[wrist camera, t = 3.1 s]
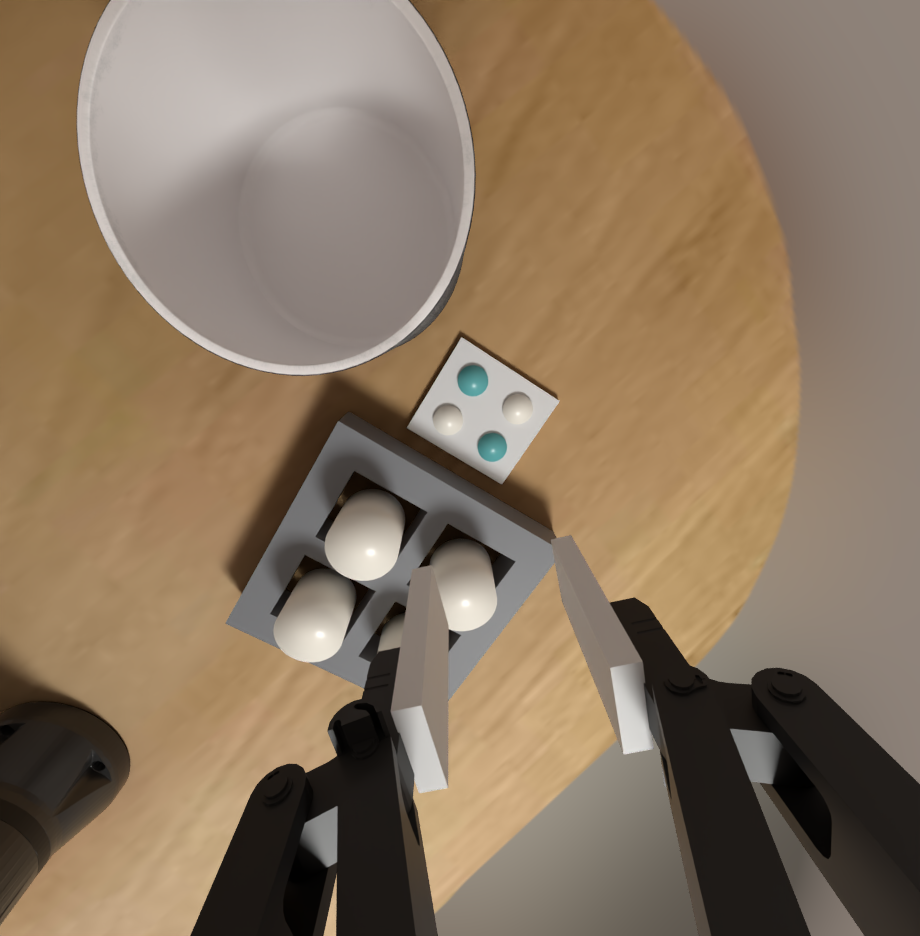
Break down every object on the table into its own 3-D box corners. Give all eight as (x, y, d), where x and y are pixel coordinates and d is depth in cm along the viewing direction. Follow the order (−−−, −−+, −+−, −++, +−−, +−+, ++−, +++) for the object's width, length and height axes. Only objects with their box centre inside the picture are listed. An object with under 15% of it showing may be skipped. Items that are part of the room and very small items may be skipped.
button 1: (285, 603, 42) (261, 643, 37) (312, 557, 41) (292, 592, 36) (339, 630, 43) (323, 672, 38) (367, 586, 42) (355, 624, 37)
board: (244, 598, 45) (225, 623, 42) (348, 411, 40) (338, 420, 36) (434, 689, 49) (433, 720, 45) (553, 531, 44) (563, 551, 40)
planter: (371, 43, 32) (302, -201, 17) (507, 270, 37) (547, 234, 22) (186, 203, 35) (-13, 115, 20) (334, 396, 40) (264, 441, 25)
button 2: (329, 528, 40) (311, 559, 35) (360, 477, 39) (346, 501, 34) (385, 558, 41) (376, 592, 36) (417, 509, 40) (412, 537, 35)
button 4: (418, 575, 42) (413, 611, 37) (450, 527, 40) (450, 558, 35) (469, 602, 43) (472, 642, 38) (503, 557, 41) (510, 591, 36)
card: (407, 426, 40) (406, 428, 40) (461, 337, 38) (461, 337, 37) (501, 482, 42) (502, 485, 42) (558, 400, 40) (560, 401, 39)
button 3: (370, 645, 44) (360, 689, 39) (399, 602, 43) (392, 642, 37) (420, 670, 45) (417, 716, 40) (450, 629, 44) (450, 671, 38)
